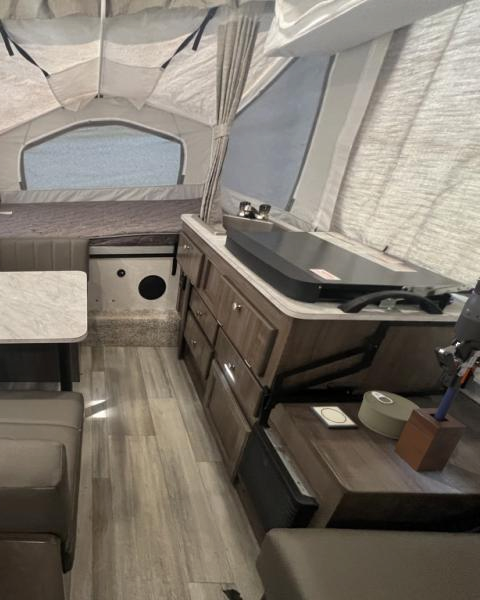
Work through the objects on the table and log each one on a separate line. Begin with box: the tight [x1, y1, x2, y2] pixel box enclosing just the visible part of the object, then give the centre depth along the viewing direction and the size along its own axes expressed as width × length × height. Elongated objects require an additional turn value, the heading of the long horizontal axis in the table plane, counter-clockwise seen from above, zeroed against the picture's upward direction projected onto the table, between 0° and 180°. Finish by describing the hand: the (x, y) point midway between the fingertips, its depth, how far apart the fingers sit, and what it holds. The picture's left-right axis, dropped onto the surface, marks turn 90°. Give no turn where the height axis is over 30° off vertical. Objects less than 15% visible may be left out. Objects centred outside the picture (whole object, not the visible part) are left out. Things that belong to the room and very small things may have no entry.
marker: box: [434, 365, 470, 422], centre depth 70 cm, size 2×2×15 cm
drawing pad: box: [309, 405, 359, 429], centre depth 91 cm, size 8×8×1 cm
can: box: [357, 390, 421, 441], centre depth 87 cm, size 12×12×7 cm
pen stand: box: [393, 407, 467, 473], centre depth 75 cm, size 6×6×14 cm
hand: (454, 386), depth 69 cm, fingers closed on marker, 1 cm apart
